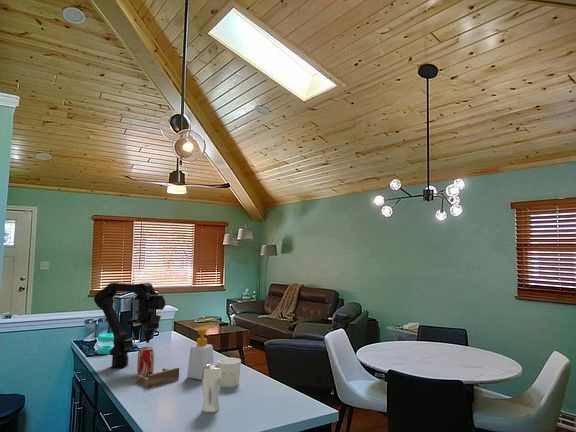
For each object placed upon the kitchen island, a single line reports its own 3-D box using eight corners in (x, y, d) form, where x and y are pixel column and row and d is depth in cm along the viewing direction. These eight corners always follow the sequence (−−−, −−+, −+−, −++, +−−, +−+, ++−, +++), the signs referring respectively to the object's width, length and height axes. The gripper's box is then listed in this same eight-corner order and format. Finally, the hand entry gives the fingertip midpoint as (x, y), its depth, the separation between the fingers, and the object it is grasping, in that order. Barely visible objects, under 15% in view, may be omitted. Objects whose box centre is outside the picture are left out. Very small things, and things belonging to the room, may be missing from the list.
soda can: (147, 378, 177) (149, 350, 178) (133, 376, 178) (134, 349, 179) (156, 373, 184) (157, 346, 185) (142, 372, 185) (143, 345, 186)
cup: (244, 382, 174) (244, 358, 175) (234, 389, 165) (234, 364, 166) (223, 379, 177) (224, 356, 178) (212, 386, 168) (213, 362, 169)
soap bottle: (221, 373, 187) (222, 324, 189) (203, 381, 174) (204, 329, 177) (204, 370, 191) (205, 323, 193) (185, 378, 179) (187, 327, 181)
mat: (130, 376, 180) (130, 375, 180) (148, 372, 187) (148, 371, 187) (141, 380, 175) (141, 379, 175) (159, 375, 181) (159, 375, 181)
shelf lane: (135, 382, 172) (136, 370, 173) (164, 374, 183) (165, 363, 184) (149, 387, 165) (150, 375, 166) (178, 379, 176) (179, 368, 177)
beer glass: (202, 406, 146) (203, 364, 148) (221, 405, 147) (222, 364, 148) (199, 413, 139) (201, 369, 141) (219, 413, 140) (220, 369, 141)
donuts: (103, 337, 216) (93, 335, 221) (102, 356, 215) (92, 353, 221) (120, 334, 224) (110, 332, 230) (119, 352, 223) (109, 350, 229)
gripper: (169, 309, 195) (167, 341, 193) (148, 305, 207) (147, 336, 205) (148, 311, 186) (147, 345, 185) (128, 307, 198) (126, 339, 197)
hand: (142, 341), depth 193 cm, fingers open, 9 cm apart
